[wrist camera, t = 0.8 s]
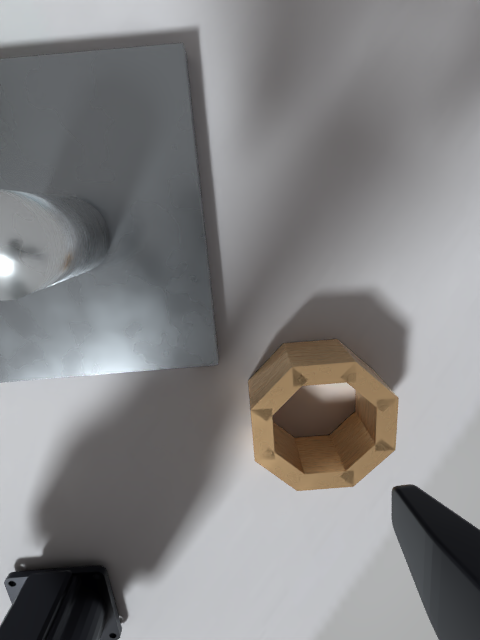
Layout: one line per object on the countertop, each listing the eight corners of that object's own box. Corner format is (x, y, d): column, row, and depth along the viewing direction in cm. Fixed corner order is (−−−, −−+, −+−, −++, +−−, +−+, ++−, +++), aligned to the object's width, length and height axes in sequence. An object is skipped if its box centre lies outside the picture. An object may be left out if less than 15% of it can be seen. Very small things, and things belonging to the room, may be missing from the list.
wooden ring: (371, 446, 21) (393, 483, 18) (254, 455, 21) (257, 494, 18) (375, 335, 19) (401, 358, 16) (245, 346, 19) (247, 370, 16)
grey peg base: (218, 357, 19) (211, 427, 13) (-1, 374, 19) (-115, 453, 13) (186, 53, 15) (151, -63, 9) (-94, 78, 15) (-330, -20, 9)
